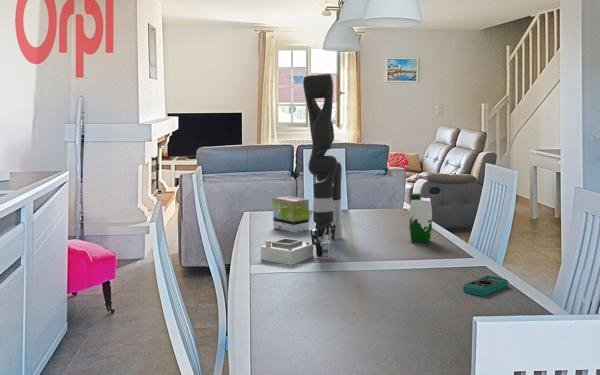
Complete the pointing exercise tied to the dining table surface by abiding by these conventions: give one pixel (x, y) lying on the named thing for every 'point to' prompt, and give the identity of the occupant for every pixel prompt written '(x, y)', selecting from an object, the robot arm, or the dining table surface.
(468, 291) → the digital multimeter
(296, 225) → the tea box
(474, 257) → the dining table surface
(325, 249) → the pill bottle
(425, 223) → the milk carton
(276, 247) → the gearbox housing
